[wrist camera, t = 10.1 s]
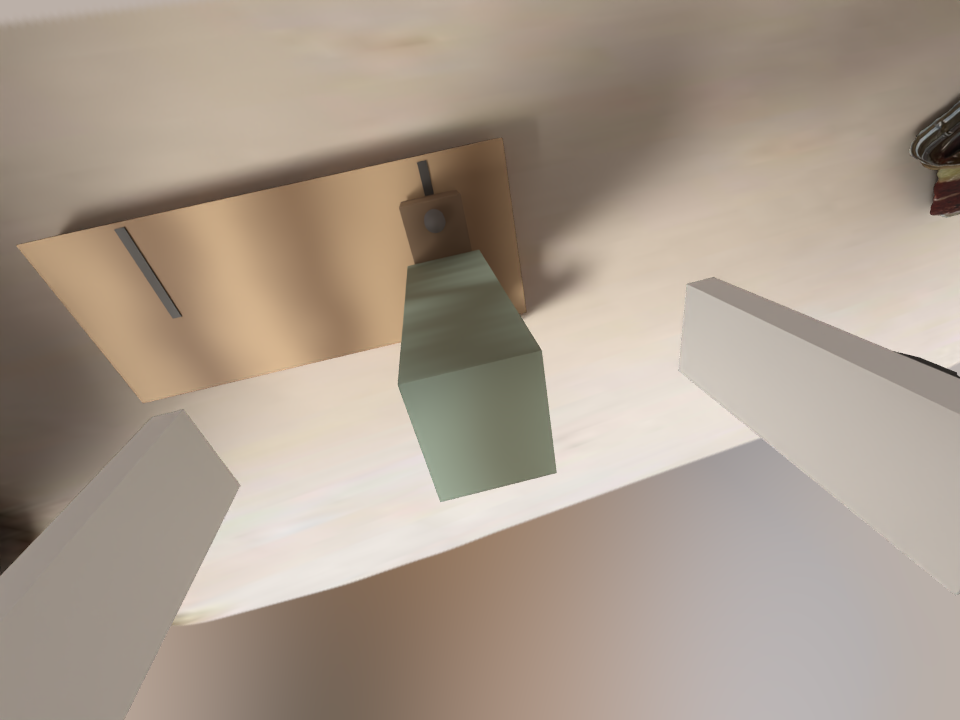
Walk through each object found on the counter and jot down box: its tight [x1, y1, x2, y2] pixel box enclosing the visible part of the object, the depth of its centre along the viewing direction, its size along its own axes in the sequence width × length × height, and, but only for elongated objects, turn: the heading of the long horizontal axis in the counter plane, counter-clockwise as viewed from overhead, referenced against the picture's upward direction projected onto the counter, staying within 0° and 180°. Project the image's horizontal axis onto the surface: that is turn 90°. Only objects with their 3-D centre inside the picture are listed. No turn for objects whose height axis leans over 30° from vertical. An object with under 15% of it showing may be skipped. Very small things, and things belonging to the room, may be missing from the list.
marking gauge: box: [398, 189, 557, 502], centre depth 14 cm, size 6×8×12 cm
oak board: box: [16, 138, 526, 403], centre depth 18 cm, size 20×8×2 cm, turn 101°
